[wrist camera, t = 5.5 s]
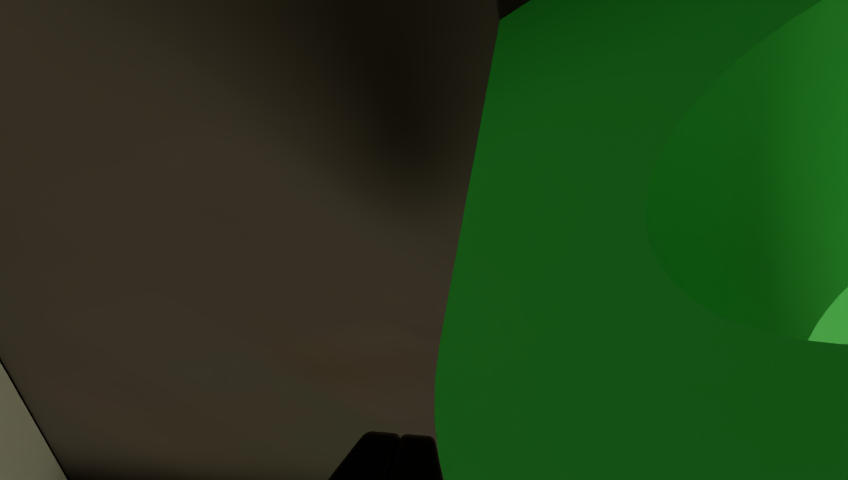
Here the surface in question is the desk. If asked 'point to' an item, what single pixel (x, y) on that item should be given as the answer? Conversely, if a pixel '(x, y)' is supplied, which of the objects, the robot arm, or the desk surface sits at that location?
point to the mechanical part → (654, 248)
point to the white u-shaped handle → (22, 440)
